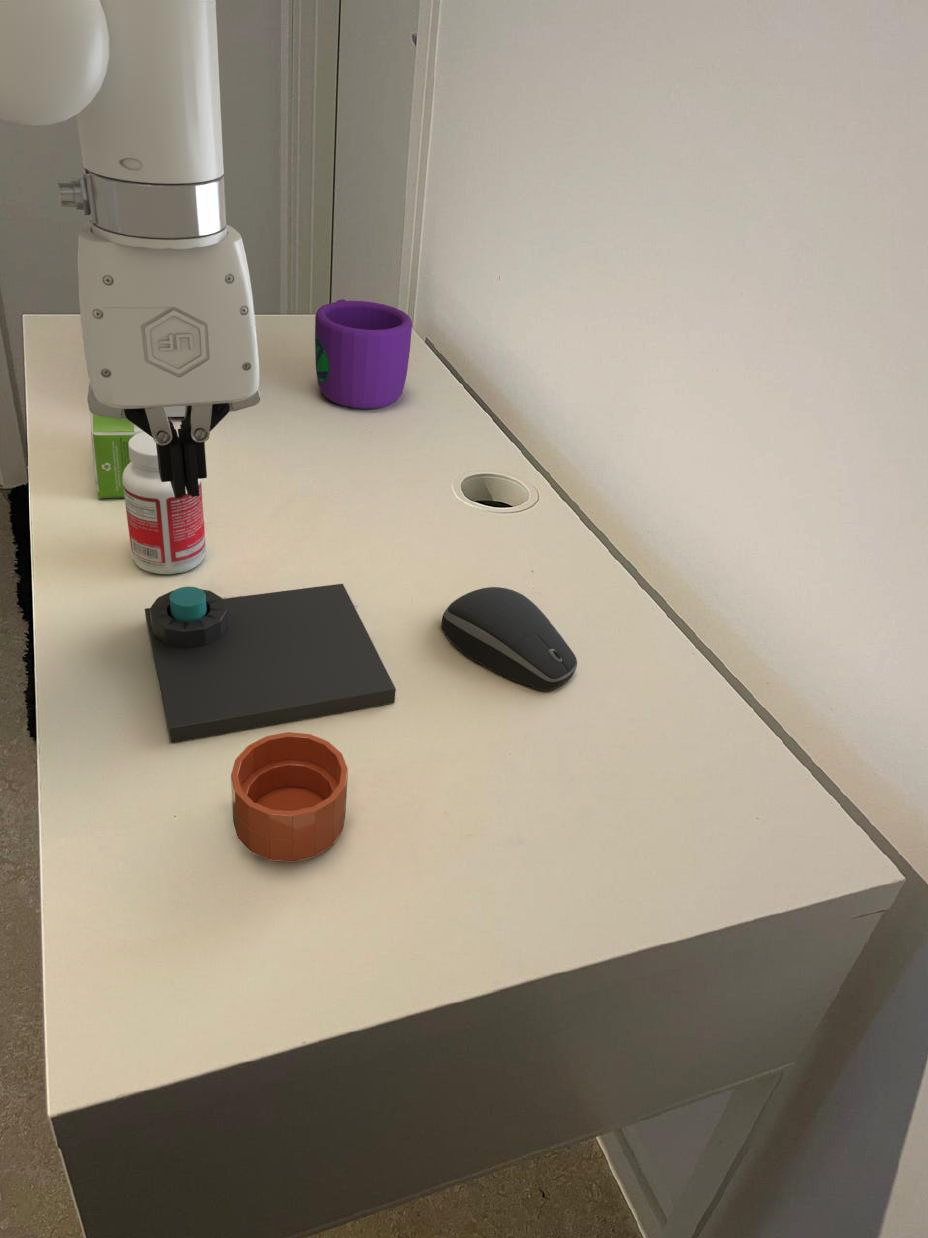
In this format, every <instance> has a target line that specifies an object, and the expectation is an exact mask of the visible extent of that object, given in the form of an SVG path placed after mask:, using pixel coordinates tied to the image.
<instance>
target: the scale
mask: <svg viewBox="0 0 928 1238" xmlns="http://www.w3.org/2000/svg"><path fill="white" fill-rule="evenodd" d="M200 589H201V590H203V591H204V593H205V595H206V609H207V612H206V615H205V616H204V617H203V618H201V619H199V620H196V621H188V622H185V621H179V620H175V619H174V618H173V617H172V615H171V608H170V594H171V593H172V592H173V591H174V590H170V591H169V592H166V593H165V594H162V595H160V596H158V597H157V598H156V599H155V601H154V602H153V603H152V605H151V606H150V607H147V608H144V618H145V625H146V630H147V634H148V639H149V645H150V650H151V654H152V659H153V663H154V668H155V672H156V679H157V682H158V687H159V692H160V698H161V703H162V707H163V713H164V716H165V717H164V718H165V721H166V727H167V731H168V735H169V736H168V737H169V741H170V744H175V743H180V742H185V741H191V740H196V739H203V738H209V737H213V736H218V735H224V734H230V733H235V732H241V731H246V730H252V729H256V728H257V729H258V728H262V727H263V728H264V727H268V726H274V725H281V724H286V723H291V722H296V721H302V720H307V719H312V718H313V719H314V718H318V717H324V716H329V715H335V714H340V713H347V712H352V711H356V710H362V709H368V708H374V707H378V706H385V705H389V704H391V705H392V704H395V701H396V690H397V689H396V687H395V685H394V683H393V680H392V678H391V676H390V675H389V673H388V671H387V669H386V667H385V665H384V663H383V660H382V659H381V657H380V655H379V652H378V650H377V649H376V646H375V645H374V642H373V641H372V639H371V637H370V635H369V633H368V630H367V629H366V627H365V625H364V623H363V621H362V619H361V616H360V614H359V613H358V611H357V608H356V607H355V605H354V603H353V601H352V599H351V597H350V594H349V593H348V591H347V589H346V587H345V585H344V583H336V584H328V585H320V586H312V587H305V588H295V589H289V590H281V591H272V592H265V593H259V594H258V593H257V594H256V593H255V594H249V595H242V596H241V595H240V596H234V597H226V598H223V597H221V596H219V594H216V593H215V592H213V591H211V590H209V589H202V588H200Z"/></svg>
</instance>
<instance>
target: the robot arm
mask: <svg viewBox="0 0 928 1238" xmlns="http://www.w3.org/2000/svg"><path fill="white" fill-rule="evenodd" d="M218 44H219V43H218V25H217V3H216V0H0V120H2V121H6V122H9V123H12V124H16V125H24V126H30V127H35V126H50V125H54V124H58V123H62V122H65V121H68V120H69V119H70V118H73V117H75V116H76V123H77V131H78V137H79V144H80V152H81V159H82V163H81V164H82V171H83V172H78V173H77V175H78V177H77V178H76V177H71V178H70V180H62V179H61V180H59V179H57V180H56V182H57V189H58V195H59V201H60V206H61V208H62V207H63V208H75V210H76V211H79V210H80V211H83V213H84V216H89V218H90V220H89V221H86V222H84V223H83V224H81V225H80V227H79V232H78V242H77V243H78V244H77V275H78V276H77V277H78V299H79V300H78V303H79V314H80V315H79V316H80V324H81V331H82V332H81V333H82V341H83V350H84V357H85V359H84V360H85V363H86V370H87V375H88V379H89V383H88V390H87V391H88V392H87V405H88V411H89V412H91V413H92V414H94V415H98V416H105V417H111V418H118V419H121V418H124V419H128V420H129V421H130V422H132V423H133V424H135V425H136V426H137V427H139V428H140V429H141V430H143V431H144V432H145V433H147V434H148V435H150V436H151V437H152V438H153V439H154V441H155V442H156V448H157V457H158V467H159V474H160V478H161V482H169V481H170V482H171V486H172V489H173V492H174V496H175V498H183V496H184V495H186V490H187V493H188V495H191V497H195V496H199V484H198V479H201V480H202V479H203V480H204V479H207V478H208V473H207V472H208V470H207V458H206V443H205V442H207V441H208V439H209V438H210V435H211V432H212V431H213V430H214V429H215V427H216V426H217V425H219V424H220V422H221V421H223V419H224V418H225V417H226V416H227V415H228V414H229V413H230V412H237V411H240V410H244V409H247V408H251V407H254V406H257V405H258V404H260V401H261V394H260V391H259V386H260V361H259V360H260V359H259V348H258V336H257V325H256V314H255V306H254V297H253V290H252V284H251V283H252V282H251V276H250V269H249V264H248V259H247V255H246V254H247V253H246V251H245V246H244V242H243V238H242V235H241V233H240V232H238V231H237V230H236V229H235V228H234V227H232V226H231V225H228V224H227V207H226V205H227V204H226V188H225V187H226V186H225V185H226V183H225V172H224V171H225V169H224V148H223V130H222V129H223V128H222V127H223V126H222V110H221V109H222V108H221V107H222V106H221V87H220V67H219V66H220V65H219V64H220V63H219V46H218ZM175 406H185V417H184V418H183V420H181V423H180V425H179V426H180V427H179V428H177V429H176V428H175V425H174V423H173V422H172V421H171V420H170V419H169V417H167V414H166V410H165V407H175ZM91 413H90V414H91ZM177 432H178V435H177ZM178 437H179V438H178ZM185 487H186V490H185Z"/></svg>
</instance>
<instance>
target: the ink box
mask: <svg viewBox="0 0 928 1238" xmlns="http://www.w3.org/2000/svg"><path fill="white" fill-rule="evenodd" d="M89 412H90V411H89ZM89 414H90V437H91V448H92V457H93V469H94V477H95V485H96V486H95V487H96V494H97V499H98V500H101V499H102V500H103V499H125V496H124V489H123V479H122V477H123V472H124V469H125V468H126V466H127V465H128V464H129V463H130V462H131V461H130V458H129V446H128V443H129V440H130V439H131V438H132V437H133V436H135V435H136V434H139V433H142V432H144V431H143V430H141V429H140V428H139V427H137V426H136V425H135V424H133V423H132V422H130V421H129V420H128V419H124V418H121V419H118V418H111V417H105V416H98V415H94V414H92V413H91V412H90V413H89Z"/></svg>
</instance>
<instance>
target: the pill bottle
mask: <svg viewBox="0 0 928 1238" xmlns="http://www.w3.org/2000/svg"><path fill="white" fill-rule="evenodd" d="M176 432H177V435H178V431H176ZM178 438H179V437H178ZM128 446H129V458H130V461H131V462H130V463H129V464H128V465H127V466H126V468H125V469H124V472H123V477H122V479H123V489H124V496H125V498H124V504H125V512H126V521H127V528H128V537H129V543H130V548H131V549H130V551H131V556H132V560H133V561H134V563H135V564H136V566H138V567H139V568H140V569H142V570H143V571H146V572H149V573H152V574H158V575H176V574H181V573H186V572H189V571H191V570H193V569H195V568H196V567H198V566H199V565H200V564H201V563H202V562H203V561H204V559H205V557H206V552H207V547H206V545H207V544H206V533H205V532H206V531H205V519H204V518H205V517H204V505H203V504H204V502H203V488H202V479H198V484H199V496H195V497H191V495H188V493H187V490H186V487H185V490H186V495H184V496H183V498H175V496H174V492H173V489H172V486H171V482H170V481H169V482H161V478H160V474H159V467H158V457H157V448H156V442H155V441H154V439H153V438H152V437H151V436H150V435H148V434H147V433H145V432H142V433H139V434H136V435H135V436H133V437H132V438H131V439H130V440H129V443H128Z"/></svg>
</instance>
